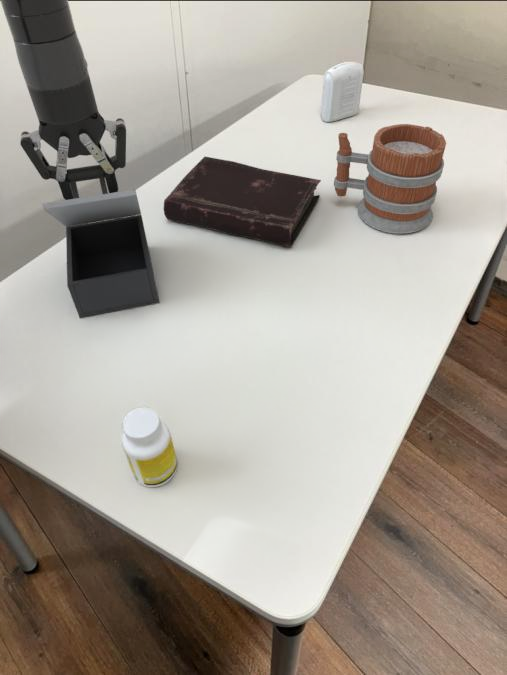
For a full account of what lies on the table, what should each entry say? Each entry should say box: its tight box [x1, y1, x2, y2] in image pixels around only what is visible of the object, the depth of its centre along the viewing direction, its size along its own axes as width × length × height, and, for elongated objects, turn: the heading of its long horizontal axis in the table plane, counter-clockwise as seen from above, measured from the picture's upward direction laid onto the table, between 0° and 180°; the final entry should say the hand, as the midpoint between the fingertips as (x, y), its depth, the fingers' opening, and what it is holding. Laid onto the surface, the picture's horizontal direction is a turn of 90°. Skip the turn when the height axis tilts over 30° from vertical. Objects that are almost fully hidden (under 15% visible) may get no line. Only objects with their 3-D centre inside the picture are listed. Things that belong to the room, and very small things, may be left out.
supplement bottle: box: [121, 406, 178, 488], centre depth 58 cm, size 5×5×10 cm
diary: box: [163, 156, 322, 249], centre depth 98 cm, size 19×25×5 cm
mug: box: [333, 123, 447, 235], centre depth 93 cm, size 14×19×15 cm
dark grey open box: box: [65, 214, 160, 319], centre depth 84 cm, size 16×13×7 cm
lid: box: [41, 164, 142, 228], centre depth 78 cm, size 16×13×5 cm
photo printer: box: [320, 61, 365, 123], centre depth 123 cm, size 10×4×12 cm, turn 122°
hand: (92, 196), depth 74 cm, fingers closed on lid, 5 cm apart
